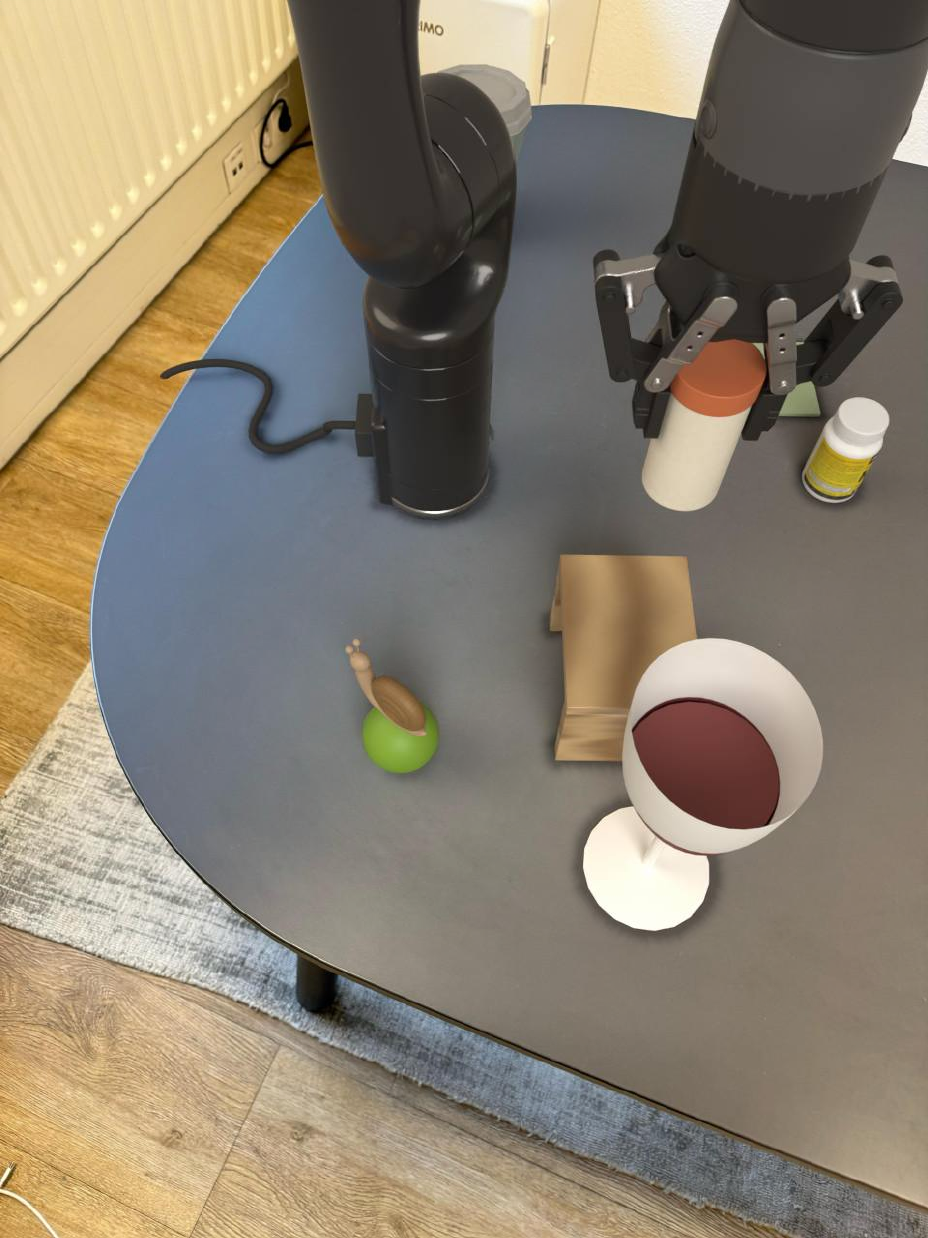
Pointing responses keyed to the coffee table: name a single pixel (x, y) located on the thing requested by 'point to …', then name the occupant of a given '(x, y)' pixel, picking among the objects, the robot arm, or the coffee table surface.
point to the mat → (799, 397)
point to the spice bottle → (703, 424)
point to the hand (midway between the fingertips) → (697, 426)
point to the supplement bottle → (845, 450)
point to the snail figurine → (393, 720)
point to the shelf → (613, 641)
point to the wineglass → (700, 776)
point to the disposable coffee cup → (501, 96)
